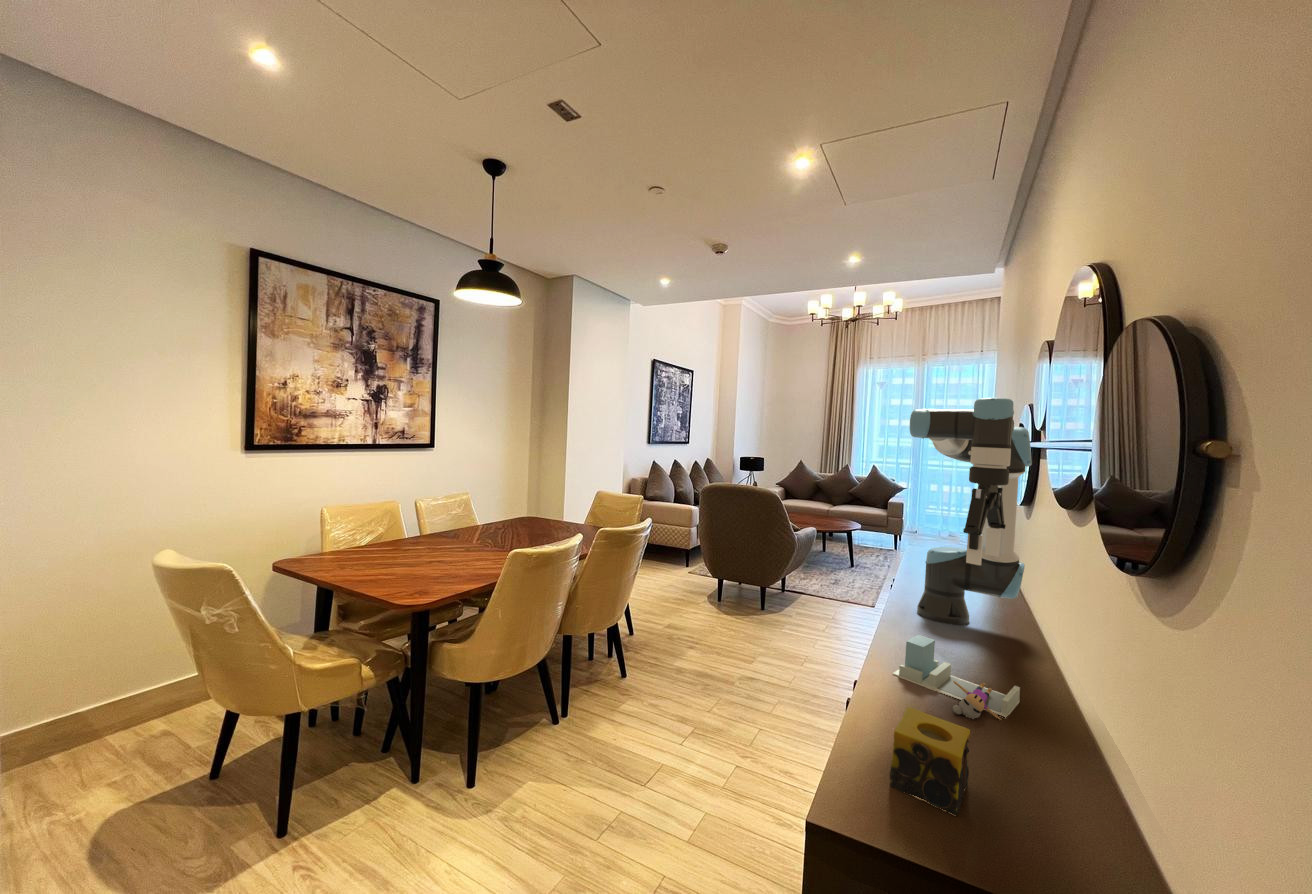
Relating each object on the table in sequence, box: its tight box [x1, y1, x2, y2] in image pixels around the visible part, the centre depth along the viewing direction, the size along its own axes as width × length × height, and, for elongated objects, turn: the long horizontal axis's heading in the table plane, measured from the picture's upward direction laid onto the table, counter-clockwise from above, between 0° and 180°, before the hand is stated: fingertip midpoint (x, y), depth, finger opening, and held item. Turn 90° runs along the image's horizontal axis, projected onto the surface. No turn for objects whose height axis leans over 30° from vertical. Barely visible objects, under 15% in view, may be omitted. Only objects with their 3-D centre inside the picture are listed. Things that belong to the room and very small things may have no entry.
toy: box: [952, 681, 1001, 720], centre depth 110 cm, size 10×6×15 cm
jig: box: [892, 659, 1021, 719], centre depth 118 cm, size 11×24×4 cm, turn 42°
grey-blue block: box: [904, 634, 936, 679], centre depth 124 cm, size 7×4×8 cm, turn 131°
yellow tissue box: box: [889, 706, 971, 816], centre depth 83 cm, size 10×10×10 cm
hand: (983, 559), depth 114 cm, fingers open, 13 cm apart
